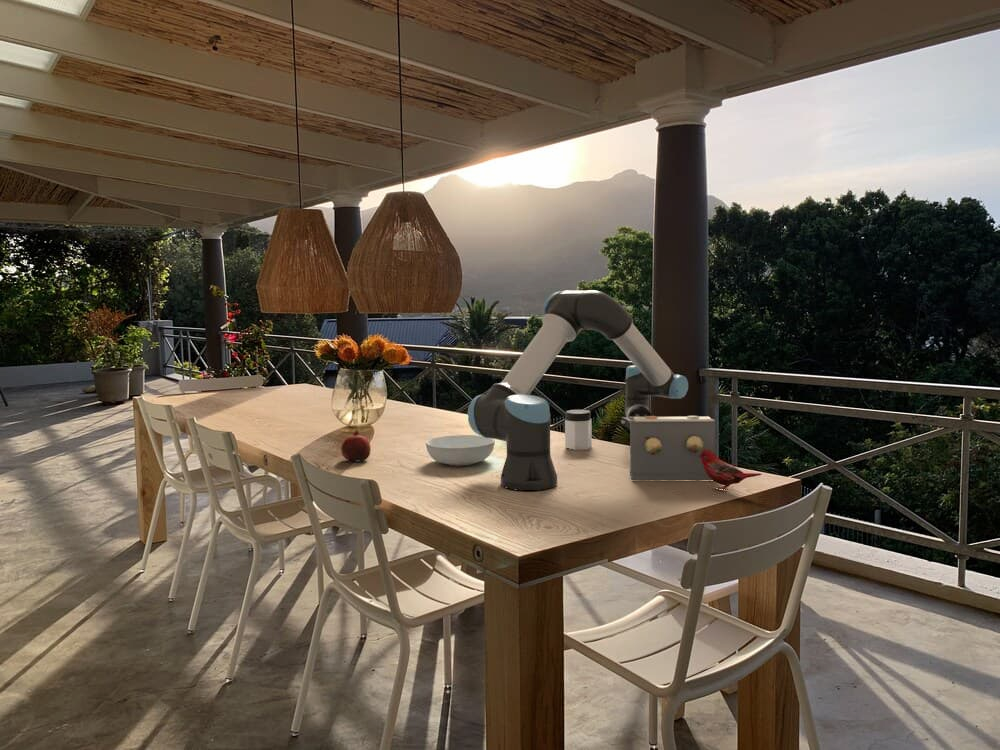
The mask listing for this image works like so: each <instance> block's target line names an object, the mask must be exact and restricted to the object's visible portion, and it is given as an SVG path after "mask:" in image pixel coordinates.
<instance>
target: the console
mask: <svg viewBox="0 0 1000 750" xmlns="http://www.w3.org/2000/svg"><path fill="white" fill-rule="evenodd" d="M629 431H630V432H629V433H630V434H629V437H630V438H629V440H630V442H629V443H630V445H629V447H630V448H629V449H630V450H629V452H630V453H629V455H630V456H629V457H630V458H629V459H630V463H629V464H630V468H629V477H630V476H631V477H630V480H712V479H711V478H710V477H709V476H708V475H707V473H706V471H705V469H704V466H703V463H702V460H701V457H698V456H699V455H700V454H701V453H702V451H703V450H705V449H708V450H710V451H712V452H713V453H714V454H715V453H716V451H715V445H716V444H715V441H716V440H715V439H716V437H715V436H716V421H715V419H714V418H711V417H710V416H709V415H707V416H699V415H687V416H656V415H652V416H646V417H634V419H630V429H629ZM691 435H696V436H698V437H700V438H701V439H702V441H703V448H702V449H701V450H700V451H699V452H696V453H693V452H690V451H689V450H688V449H687V447H686V445H685V442H686V439H687V437H689V436H691ZM646 437H657V438H658V439H659V440H660V442H661V444H662V449H661V451H660V452H659V453H658V454H655V455H652V454H649V453H648V452H647V451H646V449H645V446H644V444H645V441H646ZM715 455H716V454H715Z"/></svg>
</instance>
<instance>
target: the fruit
mask: <svg viewBox="0 0 1000 750" xmlns="http://www.w3.org/2000/svg"><path fill="white" fill-rule="evenodd" d="M340 449H341V455H342V456H343V458H344V459H345V460H348V461H352V462H355V461H360V462H363V461H365V460H367V459H368V458H369V457H370V455H371V443H370V441H369V439H368V438H367V437H365V436H363V435H360V432H359V431H358V429H357V428H356V429H355V430H353V433H352V434H351V435H349V436H347V437H345V439H344V440H343V442H342V444H341V447H340Z"/></svg>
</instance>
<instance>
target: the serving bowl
mask: <svg viewBox="0 0 1000 750" xmlns="http://www.w3.org/2000/svg"><path fill="white" fill-rule="evenodd" d="M495 440H496V439H493V438H485V437H483V436H481V435H478V434H476V435H475V434H455V435H442V436H436V437H433V438H430V439H428V440H426V441H425V447H426V451H427V453H428V455H429V456H430V458H432V459H433V460H434V461H436V462H438V463H439V464H440V463H441V464H445V465H447V464H449V465H448V466H452V465H466V466H470V465H469V464H471V465H474V464H476V463H479V462H480V463H481V462H482V461H485V460H486V459H487V458H489V456H491V454H492V453H493V451H494V448H495ZM473 463H474V464H473Z"/></svg>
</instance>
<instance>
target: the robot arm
mask: <svg viewBox="0 0 1000 750" xmlns="http://www.w3.org/2000/svg"><path fill="white" fill-rule="evenodd" d="M542 309H543V310H542V318H541V319H542V320H541V322H542V326H541V328H539V330H538V331H537V333H536V334H535V336H534V337H533V339H532V340H530V343H528V345H527V347H526V348H525V349H524V351H523V352H522V353H521V355H520V356H519V358H518V359H517V360H516V362H515V363H514V364H513V365H512V366H511V368H510V370H509V371H508V373H507V374H506V375H505V377H504V379H502V380H501V382H499V383H497V382H496V383H494V384H493V385H492V386H490V388H489V389H488V391H487V392H486V394H479V395H476V396H475V397H474V398H473V399H472V400H471V401H470V403H469V405H468V409H467V416H468V417H467V421H468V424H469V427H470V429H471V430H472V431H473V432H474V433H475V434H476V435H477V436H483V437H485V438H492V439H494V440H498V441H502V442H506V458H505V460H504V464H503V468H502V470H501V474H500V485H501V486H502V485H503V486H504V487H503V486H502V487H503V488H505V487H507V488H510V489H509V490H511V489H516V490H515V491H518V490H538V491H541V490H540V489H545V490H548V489H547V488H549V489H552V488H555V487H556V486H557V485H558V474H557V472H556V469H555V466H554V462H553V460H552V457H551V411H550V405H549V402H548V401H547V400H546V399H545V398H543V397H541V396H537V395H531V393H532V391H534V388H536V386H537V384H539V382H540V381H541V379H542V377H543V376H544V375H545V373H546V372H547V370H548V369H549V367H551V365H552V364H553V362H554V360H555V359H556V357H557V356H558V354H559V353H560V352H561V350H562V349H563V348H564V346H565V344H566V343H568V342H571V343H572V342H574V341H575V339H576V338H577V336H578V335H579V334H580V332H581V331H582V330H583V331H584V330H585V331H595V332H599V333H601V334H602V335H603V336H604V337H605V338H606V339H607V340H610V341H613V342H614V343H615V344H616V346H618V348H619V349H620V350H621V351H622V353H623V354H624V355H625V356H626V357H627V358H628V359H629V360H630V361H631V363H632V365H628V366H627V367H626V369H625V370H626V371H625V372H626V373H625V378H624V379H625V407H624V416H625V417H624V416H621V419H620V422H621V423H620V425H621V426H624V427H625V428H627V429H629V430H630V419H634V417H646V416H653V413H652V412H651V410H650V409H649V404H650V403H649V399H650V396H651V397H661V398H666V399H667V398H668V399H672V400H673V399H682V398H684V397H685V396H686V395H687V392H688V390H689V381H688V379H687V377H686V376H684V375H682V374H681V375H680V374H678V373H677V374H675V373H674V372H673V371H672V370H671V369H670V367H669V366H668V365H667V364H666V362H665V361H664V360H663V358H661V356H660V355H659V354H658V353H657V352H656V350H655V349H654V348H653V347H652V345H651V344H650V343H649V342H648V340H647V339H646V338H645V336H643V334H642V333H641V332H640V330H639V329H638V328H637V327H636V326H635V325H634V323H633V322H634V319H633V318H632V317H633V316H632V315H631V314H630V313H629V312H628V311H627V309H626V308H625V307H624V306H623V305H621V304H620V303H619V302H618V301H617V300H616V299H615V298H613V297H612V296H610V295H609V294H607V293H605V292H603V291H600V290H595V289H589V290H569V289H568V290H567V289H565V290H561V291H556V292H553V293H552V294H550V295H549V296H548V297H547V299H545V302H544V304H543V308H542ZM556 484H557V485H556ZM555 485H556V486H555ZM551 487H552V488H551ZM507 488H506V489H507Z"/></svg>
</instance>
